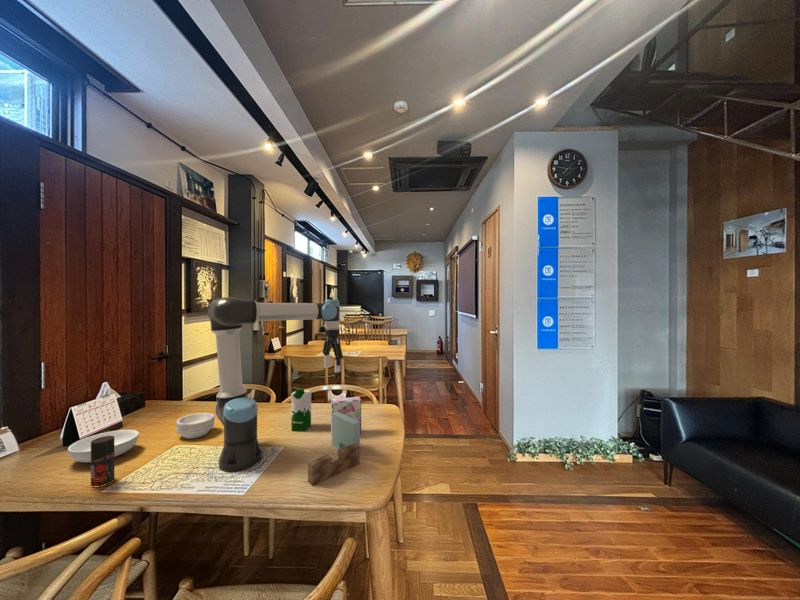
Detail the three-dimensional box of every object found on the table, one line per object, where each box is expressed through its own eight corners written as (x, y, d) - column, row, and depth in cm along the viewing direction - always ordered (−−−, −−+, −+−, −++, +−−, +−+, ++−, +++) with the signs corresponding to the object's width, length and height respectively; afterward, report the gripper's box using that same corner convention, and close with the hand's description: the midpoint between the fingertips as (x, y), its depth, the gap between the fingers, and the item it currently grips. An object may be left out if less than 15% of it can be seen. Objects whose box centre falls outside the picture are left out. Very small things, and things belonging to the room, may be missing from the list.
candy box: (331, 438, 142) (331, 402, 142) (331, 432, 147) (330, 398, 148) (361, 434, 145) (361, 399, 146) (359, 429, 151) (359, 395, 151)
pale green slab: (353, 459, 123) (353, 423, 123) (332, 445, 134) (331, 413, 134) (359, 456, 125) (359, 421, 125) (337, 443, 136) (337, 411, 136)
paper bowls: (221, 431, 150) (221, 415, 150) (187, 444, 136) (187, 426, 136) (202, 425, 157) (202, 410, 157) (169, 437, 143) (169, 420, 143)
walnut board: (312, 485, 105) (312, 465, 105) (308, 482, 107) (308, 461, 107) (359, 463, 119) (359, 445, 119) (355, 461, 121) (355, 443, 121)
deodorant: (119, 477, 111) (119, 435, 111) (103, 487, 105) (103, 443, 105) (102, 477, 111) (102, 435, 111) (85, 487, 105) (85, 443, 105)
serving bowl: (147, 451, 130) (147, 435, 130) (77, 476, 112) (77, 457, 112) (127, 440, 141) (127, 425, 141) (60, 461, 123) (60, 443, 123)
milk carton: (289, 431, 149) (288, 390, 149) (297, 424, 158) (296, 385, 158) (306, 432, 148) (306, 390, 148) (313, 424, 157) (313, 385, 157)
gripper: (349, 330, 153) (349, 373, 153) (329, 327, 174) (329, 364, 173) (335, 331, 149) (335, 375, 149) (316, 327, 169) (316, 366, 169)
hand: (332, 369), depth 161 cm, fingers open, 13 cm apart
